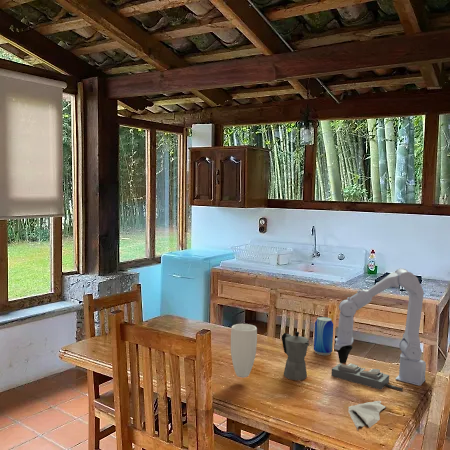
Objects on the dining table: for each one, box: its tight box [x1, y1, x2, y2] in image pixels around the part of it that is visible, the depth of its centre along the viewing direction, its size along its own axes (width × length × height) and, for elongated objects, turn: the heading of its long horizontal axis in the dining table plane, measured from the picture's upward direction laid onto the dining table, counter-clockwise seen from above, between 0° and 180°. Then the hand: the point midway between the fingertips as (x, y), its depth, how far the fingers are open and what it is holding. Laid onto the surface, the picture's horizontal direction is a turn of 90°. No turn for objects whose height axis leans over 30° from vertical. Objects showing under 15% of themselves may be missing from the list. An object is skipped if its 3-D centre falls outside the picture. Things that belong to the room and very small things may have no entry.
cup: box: [230, 323, 258, 378], centre depth 176 cm, size 10×10×22 cm
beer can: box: [313, 316, 334, 356], centre depth 214 cm, size 8×8×16 cm
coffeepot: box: [281, 331, 310, 381], centre depth 186 cm, size 15×9×18 cm, turn 33°
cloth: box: [347, 400, 386, 431], centre depth 155 cm, size 26×14×2 cm, turn 134°
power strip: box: [331, 362, 404, 392], centre depth 182 cm, size 26×9×4 cm, turn 53°
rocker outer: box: [341, 361, 359, 370], centre depth 187 cm, size 6×4×1 cm, turn 53°
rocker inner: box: [362, 368, 381, 374], centre depth 181 cm, size 6×4×1 cm, turn 53°
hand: (342, 363), depth 188 cm, fingers closed, pressing on rocker outer
